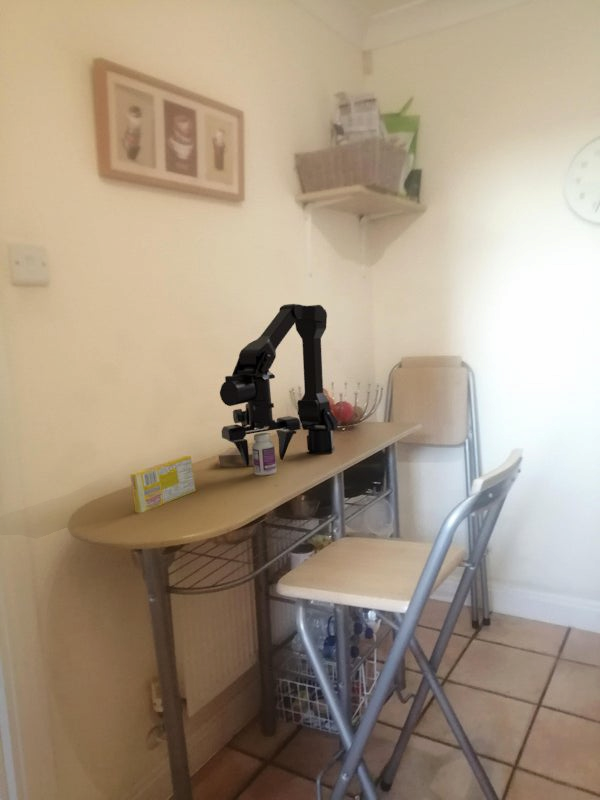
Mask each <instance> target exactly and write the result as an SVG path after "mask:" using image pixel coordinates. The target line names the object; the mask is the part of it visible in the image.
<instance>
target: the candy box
mask: <svg viewBox="0 0 600 800" xmlns="http://www.w3.org/2000/svg"><path fill="white" fill-rule="evenodd" d="M129 475H130V482H131V489H132V496H133V504H134V509H135V510H134V511H135V513H139V514H142V513H144V512H147V511H150V510H152V509H155V508H157V507H159V506H162V505H166V504H168V503H169V502H172V501H175V500H177V499H179V498H183V497H184V496H187V495H190V494H192V493H195V492H197V491H196V484H195V477H194V476H195V475H194V470H193V463H192V456H191V455H185V456H182V457H178V458H176V459H172V460H171V461H167V462H163V463H162V464H158V465H155V466H151V467H149V468H145V469H143V470H140V471H136V472H133V473H131V474H129Z"/></svg>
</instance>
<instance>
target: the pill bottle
mask: <svg viewBox="0 0 600 800" xmlns="http://www.w3.org/2000/svg"><path fill="white" fill-rule="evenodd" d="M271 440H272V439H271V433H269V432H258V433H254V434H253V441H254V443H253V444H252V446H251V447H252V451H253V461H254V465H253V469H254V473H255V475H256V476H271V475H273V474H276V472H277V463H276V462H277V461H276V450H275V445H274V442H273V441H271Z"/></svg>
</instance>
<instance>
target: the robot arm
mask: <svg viewBox="0 0 600 800" xmlns="http://www.w3.org/2000/svg"><path fill="white" fill-rule="evenodd" d="M327 318H328V313H327V310H326V309H325V308H324V307H323V306H322V304H313V305H311V304H310V305H304V304H298V303H289V304H283V305H282V306H280V307H279V311H278V312H277V313H276V315H275V317H274V318H273V319H272V320H271V321H270V323H269V324H268V326H267V327H266V328H265V329H264V331H263V332H262V333H261V335H260V336H259V337H258V338H257V339H255V340H253V341H251V342H249V343H248V344H246V345H245V346H244V347H243V348H242V349H241V350H240V351H239V354H238V358H237V362H236V364H235V366H234V369H233V372H232V374H231V375H226V376H224V380H225V381H224V382H223V383H222V384H221V386H220V391H219V396H220V399H221V402H222V403H224V405H226V406H228V407H233V406H237V405H242V404H245V410H243V409H241V408H238V409H233V411H232V418H233V423H234V424H231V425H225V426H223V427H222V429H221V438H222V439H225V440H227V441H228V442H230V443H232V444H234V446H236V447H235V448H238V450H239V452H240V454H241V457H242V459H243V461H244V463H245V465H246V466H245V467H250V466H249V454H248V447H249V443H248V441H249V440H248V439H246V438H245V437H246V436H247V435H252V434H259V433H265V432H269V431H276V435H277V438H278V455H279V459H280V460H281V461H283V460H284V458H285V456H286V453H287V450H288V447H289V445H290V442H291V441H292V439H293V436H294V435H296V434H297V430H303V431H307V433H308V434H307V435H306V444H307V451H308V452H307V454H309V455H311V454H313V455H314V454H316V455H317V454H318V455H319V454H333V452H334V451H335V449H336V446H334V432H333V431H336V430H337V429H338V428H339V420H338V419H337V417H336V415H334V413H333V412H332V410H331V404H330V400H328V399H329V398H327V396H326V395H325V392H324V385H323V384H324V383H323V382H324V381H323V380H324V379H323V361H322V360H323V358H322V337H323V335H324V333H325V331H326V329H327ZM293 326H295V329H296V332H297V334H298V335H299V337H300V339H301V341H302V342H301V343H302V359H303V360H302V362H303V384H304V394H303V396H302V398H301V399H298V400H297V403H296V404H297V416H298V417H295V416H289V415H288V416H281V417H277V419H273V418H274V417H273V408H275V406H274V402H272V394H271V393H272V392H271V383H270V382H271V381H270V380H272V379H275V378H276V376H275V374H273V373H272V372H271V371H270V369H271V368H272V366H273V364H274V362H275V359H276V357H277V352H276V350H277V349H278V347H279V345H280V344H281V343H282V342H283V340H284V338H285V337H286V336H287V334H288V333H289V331H290V330H291V329H292V328H293ZM239 424H240V425H239Z"/></svg>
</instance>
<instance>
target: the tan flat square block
mask: <svg viewBox="0 0 600 800" xmlns="http://www.w3.org/2000/svg"><path fill="white" fill-rule="evenodd" d="M248 454H249V466H248V467H254V461H253V451H252V446H248ZM218 461H219V467H223V468H224V467H225V468H226V467H247V466H246V465H245V463H244V461H243V459H242V457H241V454H240V452H239V450H238V448H237V447H229V448H228V449H226V450H225V451H223V452H221V453H220V454H218Z"/></svg>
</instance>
